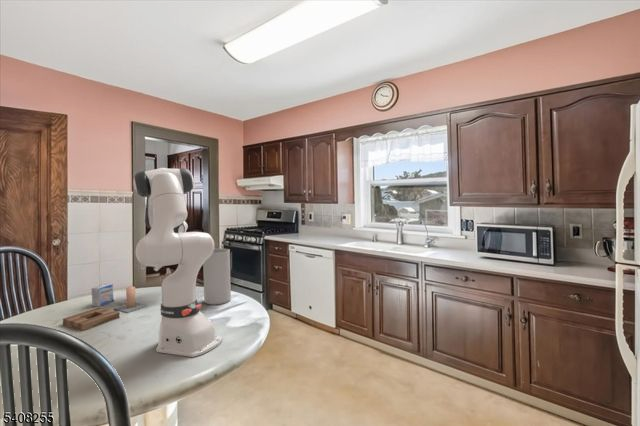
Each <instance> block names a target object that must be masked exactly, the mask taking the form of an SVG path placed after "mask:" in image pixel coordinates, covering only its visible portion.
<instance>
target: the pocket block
mask: <svg viewBox="0 0 640 426" xmlns="http://www.w3.org/2000/svg"><path fill="white" fill-rule="evenodd" d="M119 318H120V311H117V310H114V309H113V310H112V309H108V308H103V307H101V306H97V307H95V308H93V309H90V310H87V311H83V312H80V313H76V314H72V315H70V316H66V317H63V318H62V325H63V326H67V327H70V328H72V329H76V330H79V331H82V332H83V331H86V330H89V329H90V330H91V329H93V328H95V327H98V326H100V325H103V324H106V323H108V322H111V321H114V320H116V319H119Z"/></svg>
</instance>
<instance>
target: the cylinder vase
mask: <svg viewBox="0 0 640 426" xmlns="http://www.w3.org/2000/svg"><path fill="white" fill-rule="evenodd" d="M230 251H231V250H230V249H229V248H214V251H213V254H212V255H211V256H210V257H209V258H208V259H207V260H206V261H205V262H204V263H203V265H202V267H203V271H202V272H203V300H204V304H206V305H212V306H213V305H215V306H217V305H222V304H226V303H228V302H229V301H231V299H232V295H231V291H232V288H231V287H232V286H231V252H230Z"/></svg>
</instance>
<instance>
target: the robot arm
mask: <svg viewBox="0 0 640 426" xmlns="http://www.w3.org/2000/svg"><path fill="white" fill-rule="evenodd" d="M132 182H133V183H132V184H133V187H134V190H135V192H137V194H138V196H140V197H142V198H146V203H145V208H146V209H145V212H146V213H145V216H144V223H145V226H146V227H147V228H148V229H150V230H149V231H148V233H147V234H146V235H145V236H143V237H142V238H141V239H140V240H138V242H137V244H136V247H135V257H136V259H137V262H139V264H141V265H140V269H142V270H145V269H146V268H147V267H152V268H153V271H155V272H158V271H159V270H160V269H161V268H163V267H165V266H166V267H167V266H173V265H177V267H176V269H175V270H174V272H172V273H171V274H169V275H168V276H166V277H165V278H164V279H163V281H162V283H161V304H160V315H161V321H160V325H159V329H158V330H159V331H158V332H159V333H158V342H157V347H156V349H155V351H156V353H163V354H170V355H176V356H184V357H193V358H194V357H198V356H201V355H204V354H206V353H207V352H210V351H211V350H213V349H215V348H216V347H218V346H219V345H221V343H222V341H223V336H221V335H219V334H216V328H215V326H214V323H213V322H212V321H211V319H209V318H207V316H206V315H205V314H204V313H202V312H201V308H202V307H203V306H202V303H199V302H198V300H197V298H196V296H197V295H196V290H197V287H196V286H197V278H198V275H199V272H200V270H201V268H202V267H203V263H204V262H205V261H206V260H207V259H208V258H209V257H210V256H211V255H212V254H213V251H214V249H215V241H214V239H213V237H212V236H211V234H209V233H208V232H203V231H187V230H188V228H189V225H188V223H187V222H186V220H187V219H188V210H187V204H186V200H185V195H184V194H186V193H190V192H192V190H194V185H195V178H194V176H193V174H192V173H191V171H190V170H189V169H188V168H184V167H179V168H167V167H158V168H155V169H149V170H146V171H145V170H141V171H138V172H136V173H135V175H134V178H133V181H132Z"/></svg>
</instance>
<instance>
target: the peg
mask: <svg viewBox="0 0 640 426" xmlns="http://www.w3.org/2000/svg"><path fill="white" fill-rule="evenodd" d="M125 289H126V290H125V292H126V294H125V295H126V297H125V298H126V304H127V308H133V307H135V306H136V302H137V301H136V298H137V297H136V286H135V285H134V286H127V287H126V288H125Z"/></svg>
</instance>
